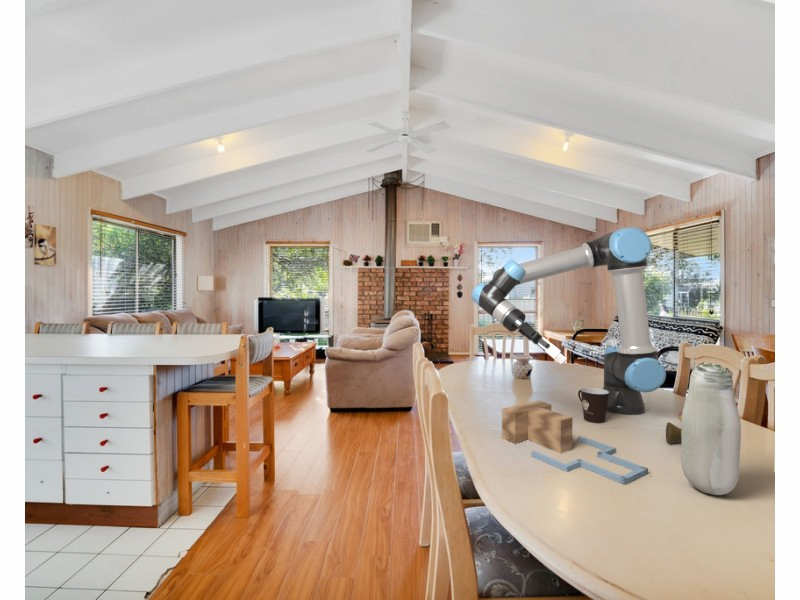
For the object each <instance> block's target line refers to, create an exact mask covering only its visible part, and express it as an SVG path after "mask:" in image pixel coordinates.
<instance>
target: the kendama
mask: <svg viewBox="0 0 800 600" xmlns="http://www.w3.org/2000/svg"><path fill="white" fill-rule="evenodd" d="M665 425H666V427H665V441H666V442H667V444H668V445H670V444H674V443H676V442H682V437H681V427H678V426H676V425H675V424H673V423H671V422H670V421H668V422H667V423H666V424H665Z"/></svg>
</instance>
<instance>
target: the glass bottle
mask: <svg viewBox="0 0 800 600" xmlns="http://www.w3.org/2000/svg"><path fill="white" fill-rule="evenodd" d="M682 410H683V412H682V422H681V427H680V429H681V437H682V441H681V451H680V452H681V454H680V455H681V456H680V457H681V458H680V459H681V461H680V462H681V469H682V472H683V475H684V476H685V478H686V480H687V481H688V483H690V484H691V485H692V486H693V487H694V488H695V489H697V490H698V491H700V492H702V493H705V494H708V495H714V496H723V495H727V494H729V493H730V492H732V491H733V490H734V489H735V487H736V485H737V483H738V480H739V476H740V462H741V461H740V459H741V458H740V457H741V444H742V441H741V440H742V426H741V425H742V424H741V418H740V413H739V410H738V406H737V403H736V398H735V391H734V379H733V377H732V375H731V373H730V371H729V370H728V369H726V368H724V367H722V366H720V365H716V364H712V363H702V364H699V365H697V366H696V367H694V369H692V371H691V373H690V377H689V386H688V392H687V395H686V398H685V402H684V405H683V409H682Z"/></svg>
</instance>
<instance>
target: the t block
mask: <svg viewBox="0 0 800 600" xmlns="http://www.w3.org/2000/svg"><path fill="white" fill-rule="evenodd" d="M552 407H553V406H552V403H547V402H545V401H541V400H535V401H530V402H526V403H520V404H518V405H513V406H508V407H504V408H502V409H501V410H502V411H501V414H502V415H501V417H502V418H501V439H502V440H504V439H505V440H504V441H506V440H507V441H506V442H508V441H509V443H511V442H512V444H513V443H514V444H513V445H517V444H516V443H518V444H521V443H523V441H525V442H527V441H526V440H529V442H531V443H533V444H536V445H538V446H541V447H543V448H546V449H548V450H551V451H553V452H555V453H558V454H564V453H566V452H569V451H573V418H574V417H572V416H569V415H566V414H562V413H558V412H557V411H554V410H553V411H552ZM520 442H521V443H520Z"/></svg>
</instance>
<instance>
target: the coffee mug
mask: <svg viewBox="0 0 800 600" xmlns="http://www.w3.org/2000/svg"><path fill="white" fill-rule="evenodd" d="M577 396H578V399H579V400H580V403H581V404H582V414H583V420H584V421H585V422H588V423H592V424H604V423H605V422H606V415H607V403H608V396H609V391H607V390H604V389H603V388H599V387H583V388H580V389H579V391H578V393H577Z"/></svg>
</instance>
